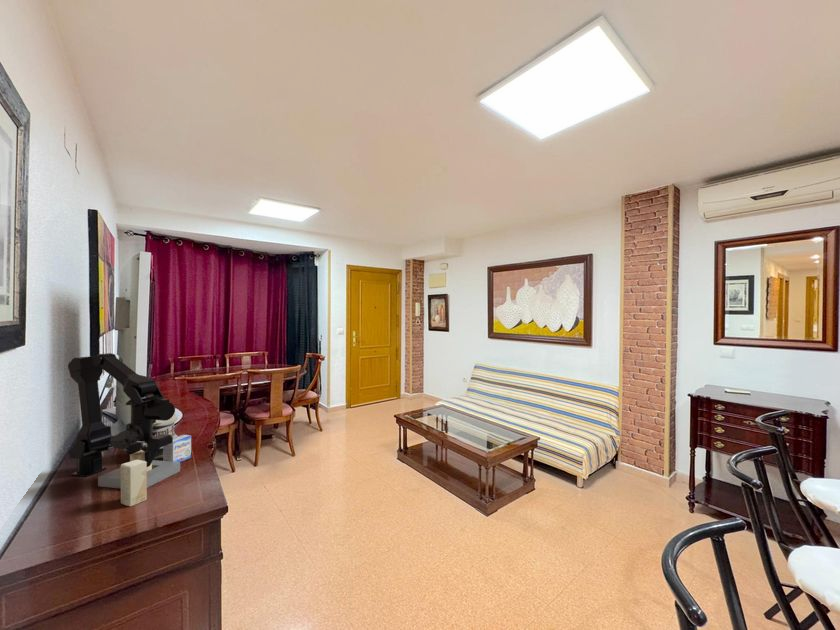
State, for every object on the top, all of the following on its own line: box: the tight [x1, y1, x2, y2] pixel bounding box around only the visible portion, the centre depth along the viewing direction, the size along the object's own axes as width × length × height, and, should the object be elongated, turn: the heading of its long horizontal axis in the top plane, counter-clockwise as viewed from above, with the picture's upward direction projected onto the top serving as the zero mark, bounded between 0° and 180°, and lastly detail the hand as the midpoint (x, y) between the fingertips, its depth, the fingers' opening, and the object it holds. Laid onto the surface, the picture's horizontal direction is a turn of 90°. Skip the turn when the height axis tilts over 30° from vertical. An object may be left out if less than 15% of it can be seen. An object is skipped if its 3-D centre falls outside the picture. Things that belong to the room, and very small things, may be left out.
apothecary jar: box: [140, 412, 179, 461], centre depth 134 cm, size 12×12×18 cm
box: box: [120, 460, 148, 507], centre depth 100 cm, size 5×4×11 cm
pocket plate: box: [97, 460, 181, 489], centre depth 115 cm, size 16×14×3 cm
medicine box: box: [162, 434, 192, 463], centre depth 129 cm, size 8×4×9 cm, turn 168°
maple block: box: [129, 449, 152, 471], centre depth 115 cm, size 4×4×8 cm
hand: (141, 466), depth 115 cm, fingers open, 5 cm apart
